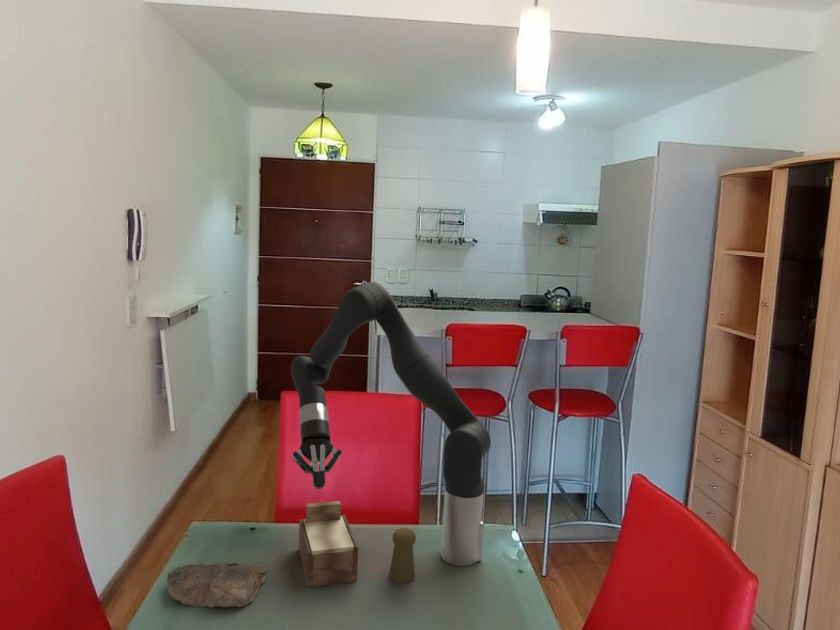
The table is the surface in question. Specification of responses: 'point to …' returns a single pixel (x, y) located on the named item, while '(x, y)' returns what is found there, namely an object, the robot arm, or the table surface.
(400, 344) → the robot arm
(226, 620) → the table surface
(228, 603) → the clay tablet
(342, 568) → the lid box
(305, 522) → the cover plate
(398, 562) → the tan pawn
